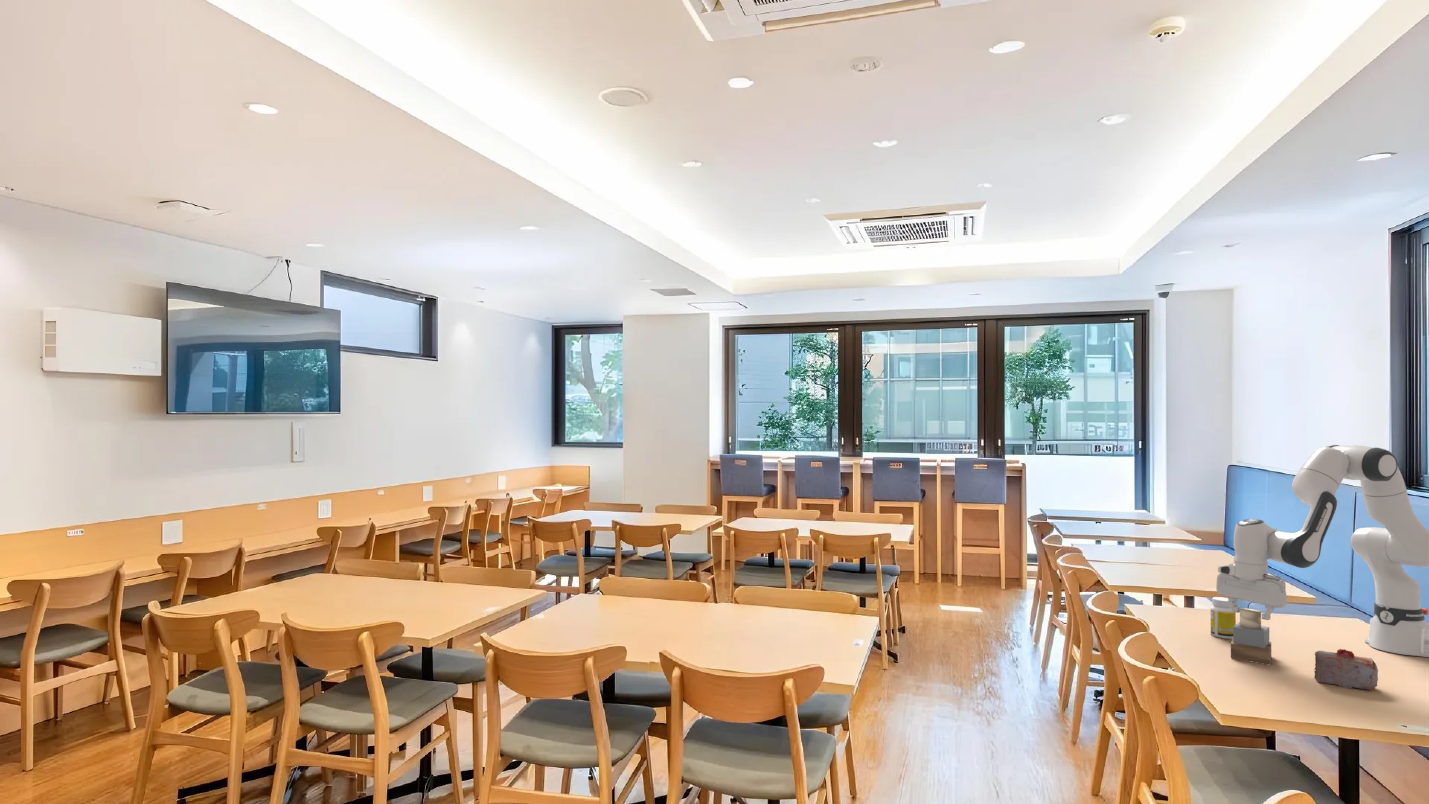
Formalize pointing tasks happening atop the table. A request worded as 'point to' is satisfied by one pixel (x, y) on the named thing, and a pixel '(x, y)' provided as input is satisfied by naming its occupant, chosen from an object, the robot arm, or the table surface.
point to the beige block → (1250, 618)
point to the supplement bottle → (1222, 618)
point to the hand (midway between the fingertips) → (1250, 615)
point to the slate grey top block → (1251, 636)
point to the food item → (1345, 669)
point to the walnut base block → (1251, 653)
